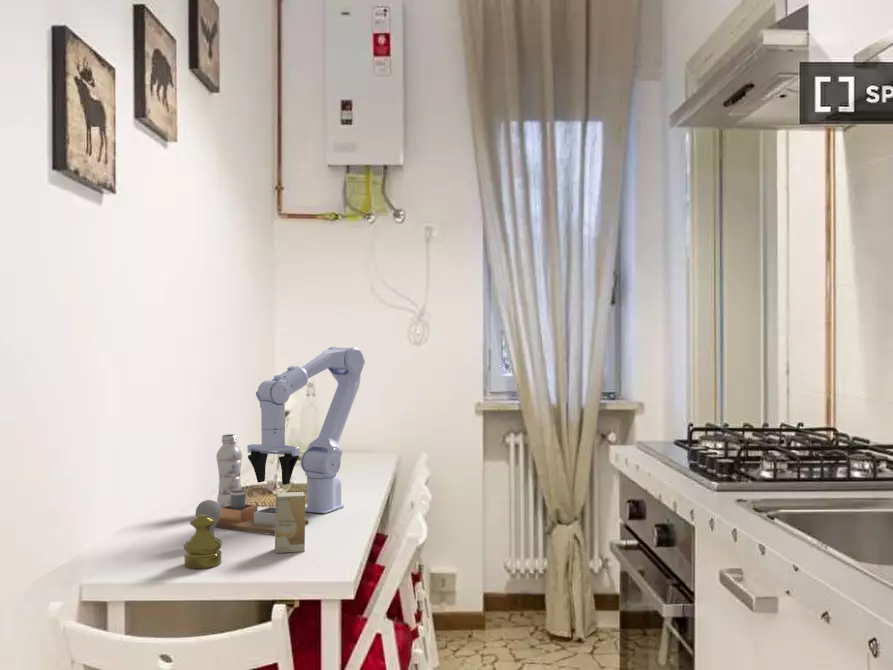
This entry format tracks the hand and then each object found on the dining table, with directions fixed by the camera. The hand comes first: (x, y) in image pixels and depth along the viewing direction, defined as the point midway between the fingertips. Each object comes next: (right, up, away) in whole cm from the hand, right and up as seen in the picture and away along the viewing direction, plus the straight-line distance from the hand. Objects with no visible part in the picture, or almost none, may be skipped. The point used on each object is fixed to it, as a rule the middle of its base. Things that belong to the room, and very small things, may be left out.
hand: (273, 483), depth 206 cm
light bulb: (-10, -10, -23) cm, 27 cm away
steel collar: (+1, -8, -7) cm, 11 cm away
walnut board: (-3, -10, -5) cm, 11 cm away
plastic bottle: (-14, -10, +11) cm, 20 cm away
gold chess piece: (-6, -10, -38) cm, 40 cm away
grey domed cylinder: (-8, -8, -2) cm, 12 cm away
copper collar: (-8, -10, -2) cm, 13 cm away
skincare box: (+9, -10, -27) cm, 31 cm away
